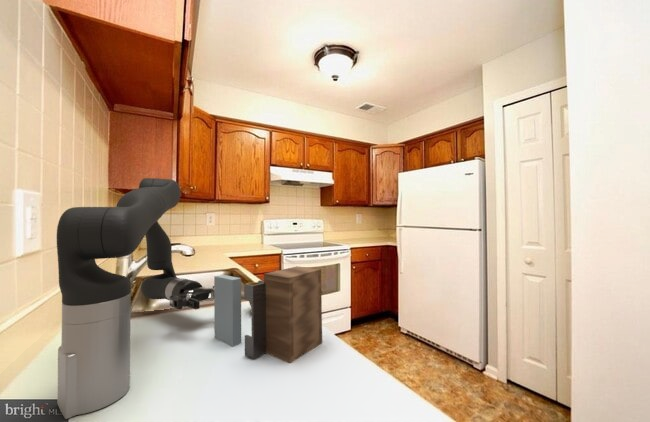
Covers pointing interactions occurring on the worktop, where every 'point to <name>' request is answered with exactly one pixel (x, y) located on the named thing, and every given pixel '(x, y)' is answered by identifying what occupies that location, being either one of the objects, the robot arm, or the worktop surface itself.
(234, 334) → the door
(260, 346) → the hinge clips
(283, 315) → the cabinet
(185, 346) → the worktop surface
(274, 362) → the worktop surface
